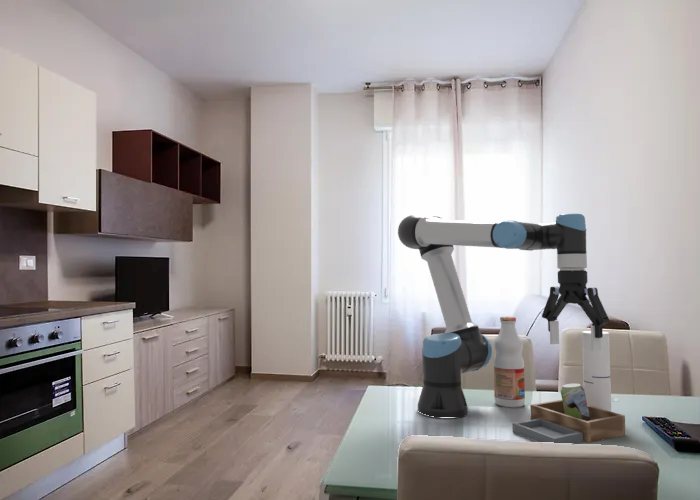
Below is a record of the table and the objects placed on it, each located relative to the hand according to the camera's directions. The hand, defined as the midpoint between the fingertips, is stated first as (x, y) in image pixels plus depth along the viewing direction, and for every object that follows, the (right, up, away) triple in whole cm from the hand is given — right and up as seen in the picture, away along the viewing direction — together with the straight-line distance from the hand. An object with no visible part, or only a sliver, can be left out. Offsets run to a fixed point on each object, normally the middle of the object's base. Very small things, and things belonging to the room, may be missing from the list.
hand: (574, 347), depth 138 cm
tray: (-11, -22, -8) cm, 25 cm away
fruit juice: (-10, -24, +25) cm, 36 cm away
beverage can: (0, -22, -1) cm, 22 cm away
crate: (0, -22, -1) cm, 22 cm away
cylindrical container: (+10, -23, +8) cm, 26 cm away
